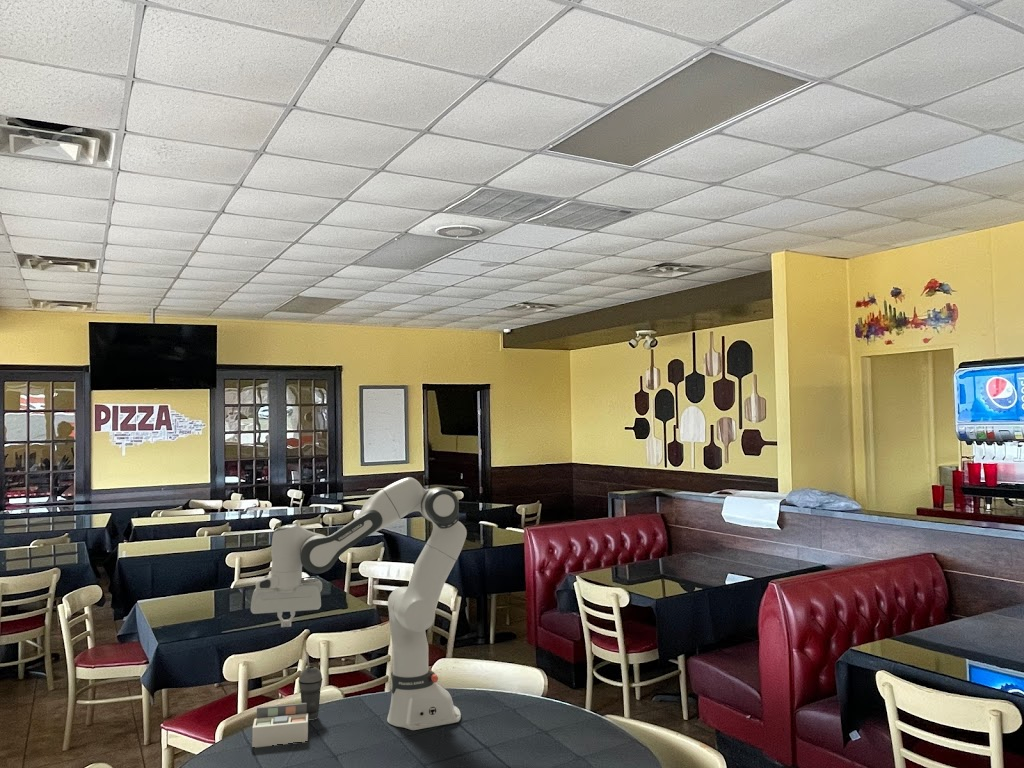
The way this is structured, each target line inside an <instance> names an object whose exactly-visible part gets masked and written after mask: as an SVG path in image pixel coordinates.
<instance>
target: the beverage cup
mask: <svg viewBox="0 0 1024 768" xmlns="http://www.w3.org/2000/svg"><path fill="white" fill-rule="evenodd" d="M305 653H306V662H307V667H305V668H304V669H302V671H301V672H300V675H299V678H298V683H299V690H300V703H307V706H306V714H308V720H309V719H315V718H317V717H318V716H319V711H320V710H319V709H320V700H321V699H320V698H321V688H322V683H323V675H322V672H321V670H320V669H319V668H318V667H316V666H314V665H313V666H312V665H311V666H310V660H309V658H310V657H309V652H308V651H306V652H305ZM318 718H319V717H318ZM318 718H317V719H318Z"/></svg>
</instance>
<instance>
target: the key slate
mask: <svg viewBox="0 0 1024 768" xmlns="http://www.w3.org/2000/svg"><path fill="white" fill-rule="evenodd" d="M287 722H288V716H280V717H275V719H274V724H277V723H287Z"/></svg>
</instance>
